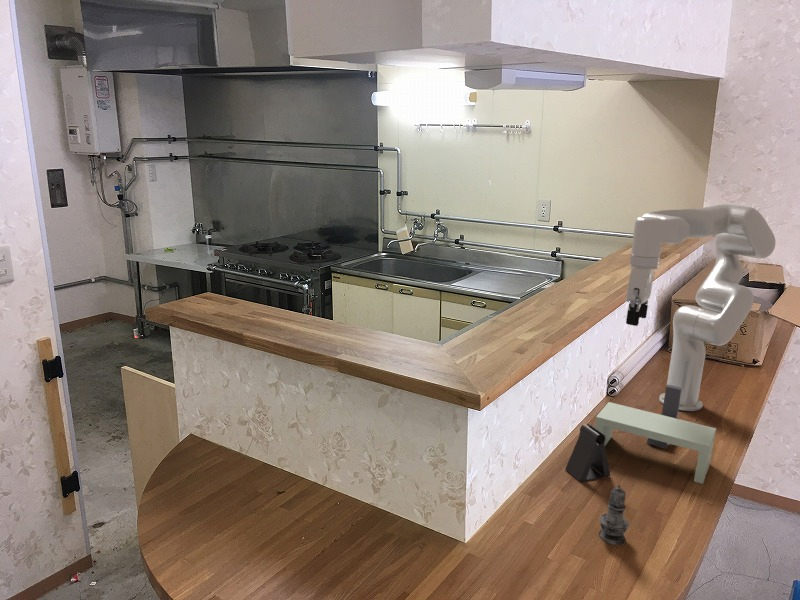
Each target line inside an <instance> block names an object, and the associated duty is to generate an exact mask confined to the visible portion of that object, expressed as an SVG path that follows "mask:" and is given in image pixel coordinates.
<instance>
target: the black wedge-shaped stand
mask: <svg viewBox="0 0 800 600" xmlns="http://www.w3.org/2000/svg"><path fill="white" fill-rule="evenodd" d="M604 444H605V435H604V434H602V433H601V432H599V431H598V430H597V429H595V426H594V427H593V426H592V425H590V424H589V423H586V424H584V423H583V424H582V425H581V426H580V428H579V436H578V439H577V441H576V442H575V445H574V447H573V449H572V451H571V452H572V453H571V454H570V457H569V459H568V462H567V464H566V466H565V469H564V470H565V471H566V472H567V473H569V474H570V475H571V476H572V477H574V478H575V479H576V480H577V481H578V482H580V483H585V482H589V481H595V480H599V479H605V478H604V477H607V478H609V477H608V476H610V477H611V470H610V466H609V460H608V455H607V451H606V446H605V445H604Z"/></svg>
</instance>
